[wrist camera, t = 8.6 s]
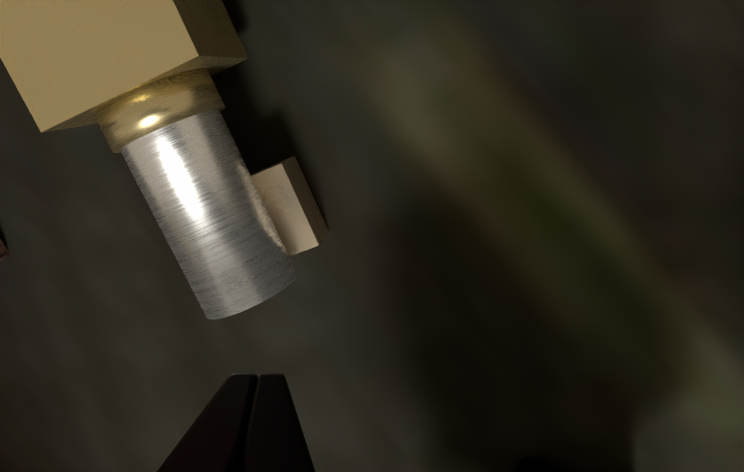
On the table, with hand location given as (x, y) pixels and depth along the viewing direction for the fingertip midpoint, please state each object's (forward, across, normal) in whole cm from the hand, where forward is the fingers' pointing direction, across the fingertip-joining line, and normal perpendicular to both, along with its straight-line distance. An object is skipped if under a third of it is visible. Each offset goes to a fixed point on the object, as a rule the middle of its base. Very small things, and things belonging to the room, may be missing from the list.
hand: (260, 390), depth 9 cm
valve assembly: (+14, +4, -1) cm, 15 cm away
